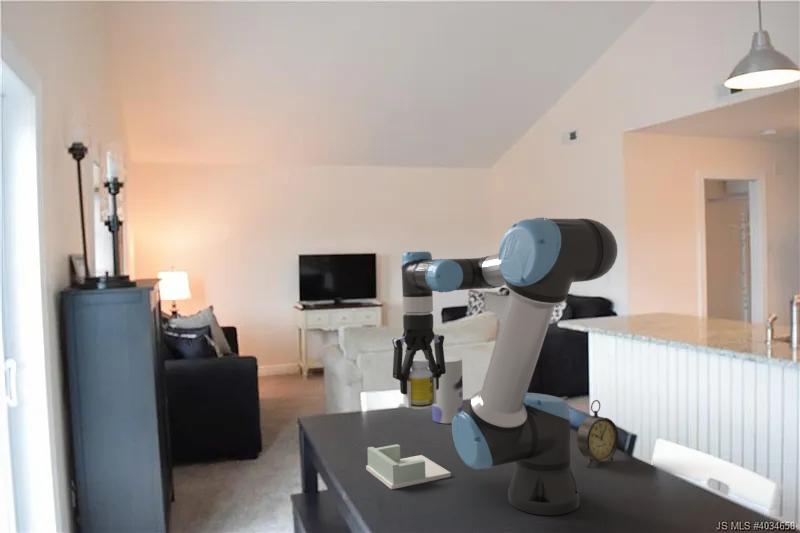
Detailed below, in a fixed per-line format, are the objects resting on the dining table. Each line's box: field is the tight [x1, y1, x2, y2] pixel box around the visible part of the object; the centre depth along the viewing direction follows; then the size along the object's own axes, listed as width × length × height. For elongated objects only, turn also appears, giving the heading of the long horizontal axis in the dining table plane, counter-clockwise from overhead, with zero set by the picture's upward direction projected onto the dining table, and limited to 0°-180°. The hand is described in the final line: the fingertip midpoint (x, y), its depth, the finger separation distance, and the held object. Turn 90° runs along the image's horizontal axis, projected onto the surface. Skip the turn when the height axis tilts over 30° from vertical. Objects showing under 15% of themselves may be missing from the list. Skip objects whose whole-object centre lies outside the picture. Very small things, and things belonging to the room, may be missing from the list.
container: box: [431, 355, 464, 425], centre depth 200 cm, size 10×10×20 cm
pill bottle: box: [408, 358, 433, 410], centre depth 155 cm, size 6×6×12 cm
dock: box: [365, 444, 452, 490], centre depth 154 cm, size 15×16×6 cm
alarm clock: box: [576, 399, 619, 468], centre depth 157 cm, size 11×5×16 cm, turn 119°
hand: (420, 404), depth 155 cm, fingers closed on pill bottle, 6 cm apart
